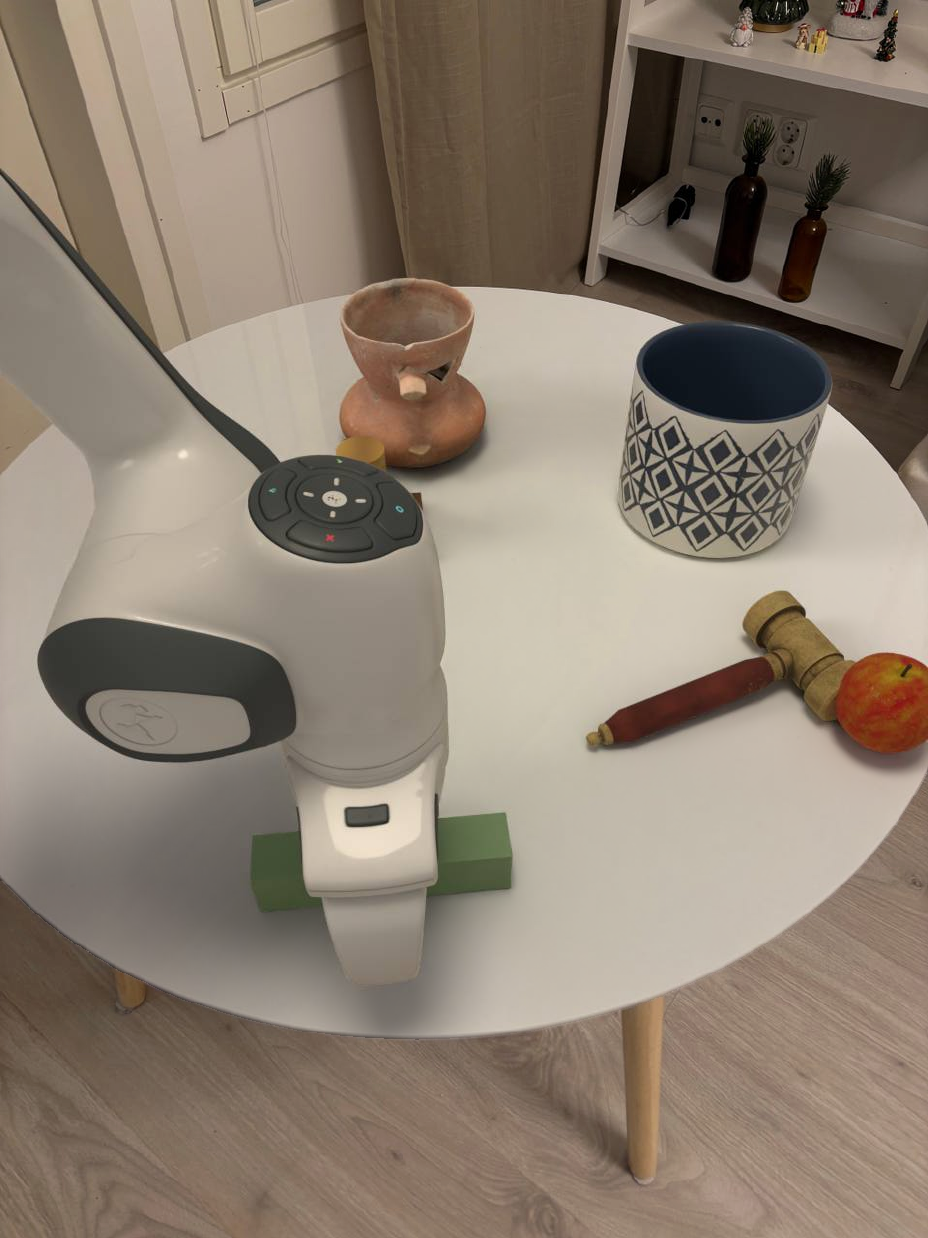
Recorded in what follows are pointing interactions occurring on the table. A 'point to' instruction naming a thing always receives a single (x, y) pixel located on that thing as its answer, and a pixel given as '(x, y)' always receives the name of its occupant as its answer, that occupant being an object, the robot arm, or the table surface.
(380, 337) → the ceramic jug
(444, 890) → the bar
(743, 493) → the planter
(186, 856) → the table surface
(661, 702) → the gavel
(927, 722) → the fruit
